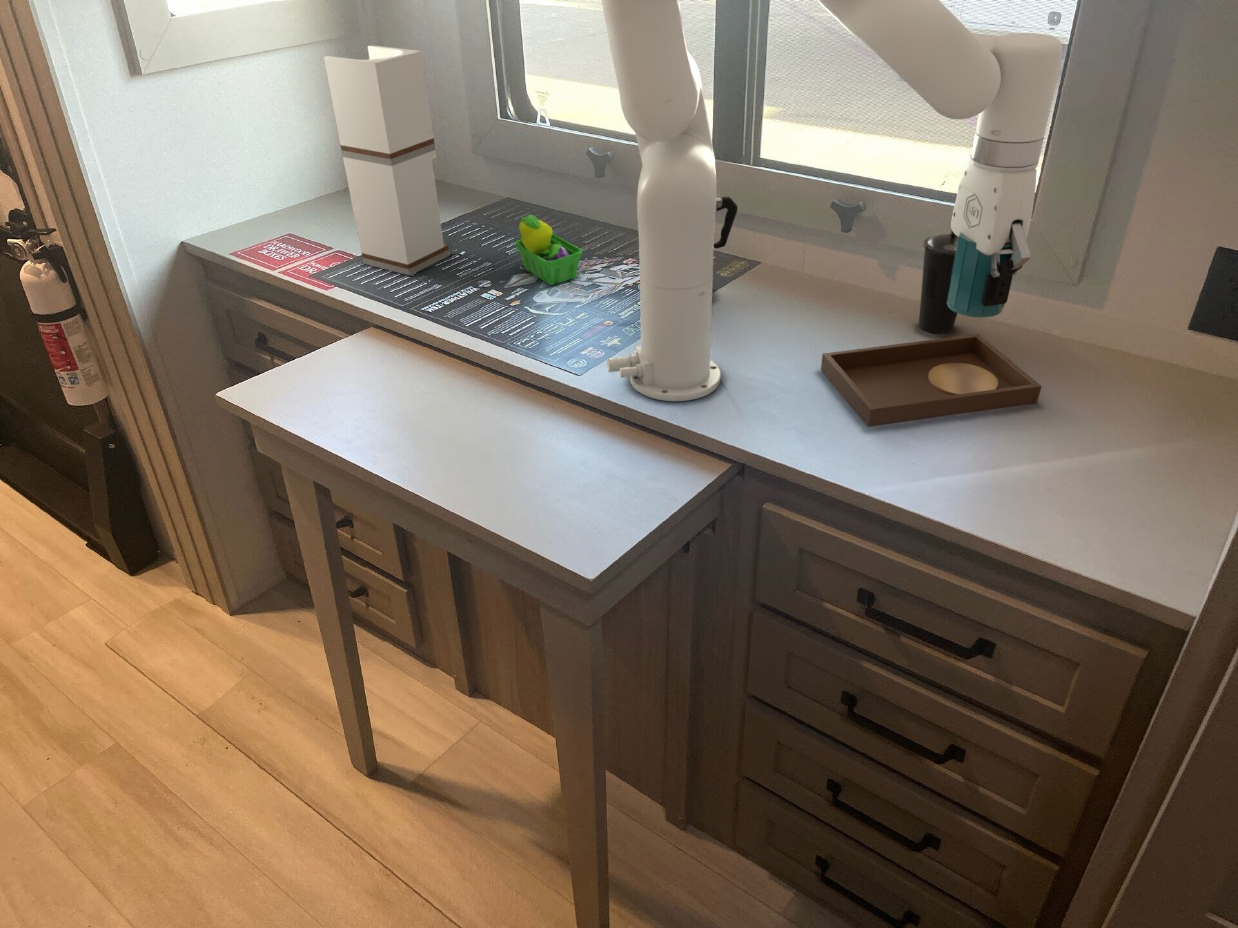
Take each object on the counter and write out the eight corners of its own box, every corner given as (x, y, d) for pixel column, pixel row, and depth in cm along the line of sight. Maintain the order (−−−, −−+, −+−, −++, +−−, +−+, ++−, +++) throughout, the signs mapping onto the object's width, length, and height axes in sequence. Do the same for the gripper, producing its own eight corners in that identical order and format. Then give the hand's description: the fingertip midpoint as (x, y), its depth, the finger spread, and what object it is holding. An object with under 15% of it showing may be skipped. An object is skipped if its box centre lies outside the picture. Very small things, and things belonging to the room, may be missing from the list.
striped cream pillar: (449, 255, 169) (421, 51, 149) (409, 275, 162) (374, 63, 142) (404, 244, 174) (371, 45, 154) (363, 263, 167) (323, 57, 147)
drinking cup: (964, 343, 135) (992, 210, 124) (910, 339, 136) (933, 207, 125) (959, 320, 141) (985, 192, 130) (907, 317, 143) (929, 190, 131)
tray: (867, 430, 116) (870, 409, 114) (820, 373, 129) (822, 353, 127) (1036, 406, 120) (1042, 386, 118) (974, 353, 132) (978, 333, 131)
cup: (963, 320, 115) (977, 248, 110) (936, 298, 121) (949, 228, 115) (1013, 314, 116) (1030, 242, 111) (984, 292, 122) (999, 223, 116)
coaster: (948, 400, 120) (949, 398, 120) (916, 369, 128) (916, 367, 128) (1011, 392, 122) (1011, 390, 122) (975, 361, 129) (976, 359, 129)
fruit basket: (586, 278, 158) (583, 215, 152) (542, 291, 154) (536, 226, 148) (552, 259, 166) (548, 197, 160) (509, 271, 162) (503, 208, 156)
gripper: (940, 134, 114) (918, 270, 124) (1018, 175, 100) (986, 324, 110) (995, 129, 115) (969, 264, 125) (1080, 168, 101) (1043, 317, 111)
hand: (977, 291), depth 117 cm, fingers closed on cup, 7 cm apart
